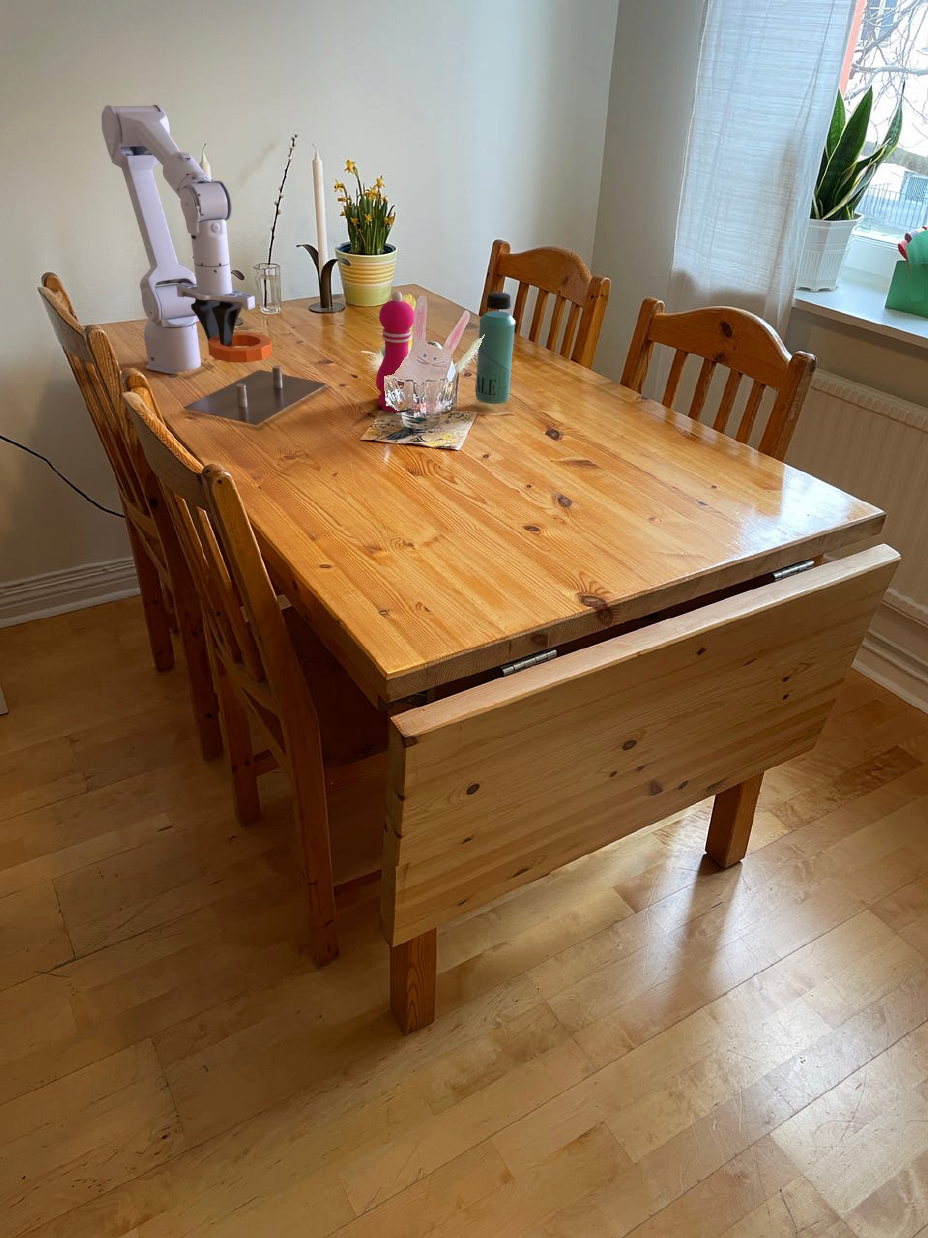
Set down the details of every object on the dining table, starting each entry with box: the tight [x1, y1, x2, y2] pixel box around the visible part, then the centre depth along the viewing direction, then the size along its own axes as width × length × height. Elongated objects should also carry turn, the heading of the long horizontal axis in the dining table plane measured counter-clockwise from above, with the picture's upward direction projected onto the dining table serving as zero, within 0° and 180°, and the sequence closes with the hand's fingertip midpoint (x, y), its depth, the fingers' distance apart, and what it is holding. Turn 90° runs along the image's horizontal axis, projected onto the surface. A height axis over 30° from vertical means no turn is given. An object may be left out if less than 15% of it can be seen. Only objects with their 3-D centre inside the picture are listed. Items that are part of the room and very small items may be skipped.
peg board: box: [183, 364, 328, 426], centre depth 158 cm, size 15×23×4 cm, turn 157°
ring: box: [207, 331, 273, 364], centre depth 153 cm, size 10×10×2 cm
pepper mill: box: [375, 290, 415, 413], centre depth 155 cm, size 7×7×20 cm
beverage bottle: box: [474, 291, 516, 405], centre depth 157 cm, size 6×7×20 cm
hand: (220, 344), depth 155 cm, fingers closed on ring, 2 cm apart
